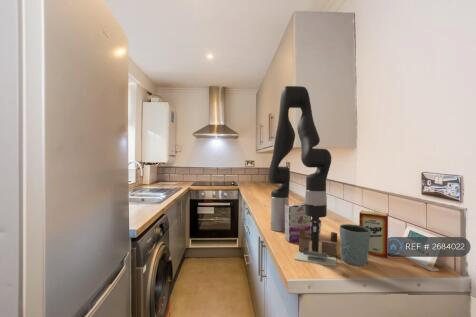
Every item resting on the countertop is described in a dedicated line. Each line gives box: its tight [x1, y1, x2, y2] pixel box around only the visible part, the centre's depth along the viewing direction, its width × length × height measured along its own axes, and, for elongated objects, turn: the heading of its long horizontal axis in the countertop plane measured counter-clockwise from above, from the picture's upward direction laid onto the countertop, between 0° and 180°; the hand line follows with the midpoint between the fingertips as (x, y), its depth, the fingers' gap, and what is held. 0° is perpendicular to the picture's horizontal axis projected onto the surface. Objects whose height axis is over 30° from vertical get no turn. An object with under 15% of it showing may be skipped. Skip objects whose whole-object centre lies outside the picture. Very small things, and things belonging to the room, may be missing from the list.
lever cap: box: [303, 241, 327, 258], centre depth 86 cm, size 4×8×4 cm, turn 69°
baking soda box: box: [358, 210, 389, 258], centre depth 94 cm, size 10×6×16 cm
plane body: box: [298, 225, 338, 258], centre depth 94 cm, size 6×14×9 cm, turn 69°
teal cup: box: [339, 224, 371, 267], centre depth 85 cm, size 10×10×12 cm
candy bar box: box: [284, 202, 312, 243], centre depth 107 cm, size 11×5×16 cm, turn 105°
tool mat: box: [294, 251, 337, 267], centre depth 86 cm, size 7×14×1 cm, turn 69°
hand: (315, 249), depth 86 cm, fingers closed on lever cap, 3 cm apart
